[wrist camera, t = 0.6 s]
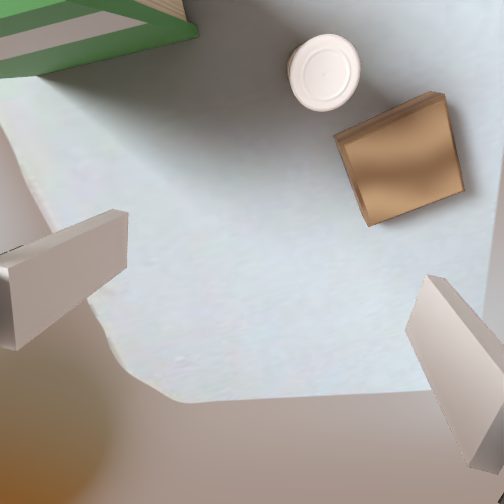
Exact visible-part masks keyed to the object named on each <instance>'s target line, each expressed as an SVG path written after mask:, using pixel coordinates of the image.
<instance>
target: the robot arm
mask: <svg viewBox="0 0 504 504" xmlns="http://www.w3.org/2000/svg"><path fill="white" fill-rule="evenodd" d="M127 241H128V212H124V211H119V210H114V209H112V210H109V211H107V212H104V213H102V214H99V215H97V216H95V217H92V218H90V219H87V220H85V221H82V222H80V223H78V224H75V225H73V226H70V227H68V228H65V229H63V230H60V231H58V232H56V233H53V234H51V235H48V236H46V237H44V238H41V239H39V240H36V241H34V242H31V243H29V244H26V245H22V246H19V247H17V248H15V249H12V250H10V251H9V252H5V253H2V254H0V347H3V348H6V349H10V350H14V351H18V350H19V349H20V348H21V347H23V346H24V345H25V344H27V343H28V342H29V341H31V340H32V339H33V338H35V337H36V336H37V335H38V334H40V333H41V332H42V331H44V330H45V329H46V328H47V327H49V326H50V325H52V324H53V323H54V322H56V321H57V320H58V319H60V318H61V317H62V316H64V315H65V314H66V313H68V312H69V311H70V310H72V309H73V308H74V307H75V306H77V305H78V304H79V303H80V302H82V301H83V300H85V299H86V298H87V297H89V296H90V295H91V294H93V293H94V292H95V291H97V290H98V289H99V288H101V287H102V286H103V285H105V284H106V283H107V282H108V281H110V280H111V279H112V278H114V277H115V276H116V275H118V274H119V273H120V272H122V271H123V270H124V269H126V268H127ZM405 332H406V334H407V336H408V338H409V340H410V343H411V345H412V347H413V349H414V351H415V354H416V356H417V358H418V360H419V362H420V364H421V367H422V369H423V371H424V373H425V375H426V377H427V380H428V382H429V384H430V386H431V388H432V390H433V393H434V395H435V397H436V399H437V401H438V403H439V405H440V408H441V410H442V412H443V414H444V416H445V419H446V421H447V423H448V425H449V427H450V430H451V432H452V434H453V436H454V438H455V440H456V443H457V444H458V447H459V449H460V451H461V453H462V456H463V457H464V460H465V462H466V464H467V466H468V467H470V468H474V469H478V470H482V471H486V472H490V473H493V474H498V473H499V471H500V470H501V469H502V467H503V465H504V345H503V343H501V341H500V340H499V339H498V338H497V337H496V336H495V334H494V333H493V332H492V331H491V330H490V329H489V328H488V327H487V325H486V324H485V323H484V322H483V321H482V320H481V319H480V317H479V316H478V315H477V314H476V313H475V312H474V311H473V310H472V308H471V307H470V306H469V305H468V304H467V303H466V302H465V301H464V299H463V298H462V297H461V296H460V295H459V294H458V293H457V291H456V290H455V289H454V288H453V287H452V286H451V285H450V284H449V282H448V281H447V280H446V279H445V278H441V277H436V276H431V275H426V276H425V278H424V281H423V284H422V286H421V289H420V291H419V294H418V297H417V299H416V302H415V305H414V307H413V310H412V312H411V315H410V318H409V320H408V323H407V326H406V328H405ZM498 503H500V504H504V493H503V495H502V496H501V498H500V499H499V501H498Z"/></svg>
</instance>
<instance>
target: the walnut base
mask: <svg viewBox="0 0 504 504" xmlns="http://www.w3.org/2000/svg"><path fill="white" fill-rule="evenodd" d="M334 139H335V142H336V144H337V147H338V150H339V153H340V155H341V158H342V161H343V164H344V167H345V169H346V172H347V175H348V178H349V180H350V183H351V186H352V189H353V191H354V194H355V197H356V200H357V202H358V205H359V208H360V211H361V213H362V216H363V218H364V219H365V221H366V223H367V225H368V227H370V226H373V225H375V224H378V223H381V222H383V221H386V220H388V219H391V218H394V217H396V216H399V215H402V214H404V213H407V212H410V211H412V210H415V209H418V208H420V207H423V206H425V205H428V204H431V203H433V202H436V201H439V200H441V199H444V198H447V197H449V196H452V195H454V194H457V193H460V192H462V191H465V189H464V184H463V179H462V174H461V169H460V165H459V160H458V155H457V150H456V145H455V140H454V136H453V131H452V126H451V121H450V116H449V112H448V107H447V102H446V97H445V94H442V93H437V92H432V91H429V92H427V93H425V94H423V95H421V96H419V97H416V98H414V99H412V100H410V101H408V102H406V103H403V104H401V105H399V106H397V107H395V108H393V109H390V110H388V111H386V112H384V113H382V114H380V115H377V116H375V117H373V118H371V119H369V120H367V121H364V122H362V123H360V124H358V125H356V126H354V127H352V128H349V129H347V130H345V131H343V132H341V133H339V134H336V135H334Z"/></svg>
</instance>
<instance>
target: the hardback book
mask: <svg viewBox="0 0 504 504" xmlns="http://www.w3.org/2000/svg"><path fill="white" fill-rule="evenodd" d="M197 37H199V34H198V29H197V26H196V25H194V24H191V23H189V22H187V19H186V15H185V11H184V7H183V2H182V0H0V79H1V78H14V77H28V76H38V75H42V74H47V73H51V72H55V71H59V70H63V69H67V68H72V67H76V66H80V65H84V64H88V63H92V62H97V61H101V60H105V59H109V58H113V57H117V56H122V55H126V54H130V53H134V52H138V51H142V50H147V49H151V48H155V47H159V46H163V45H167V44H172V43H176V42H180V41H184V40H188V39H193V38H197Z"/></svg>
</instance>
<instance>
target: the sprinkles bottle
mask: <svg viewBox="0 0 504 504" xmlns="http://www.w3.org/2000/svg"><path fill="white" fill-rule="evenodd" d="M360 73H361V65H360V59H359V56H358V53H357V51H356V49H355V48H354V46H353V45H352V44H351V43H350V42H349V41H348V40H347V39H345V38H343V37H341V36H339V35H335V34H323V35H319V36H316V37H313V38H311V39H310V40H308V41H307V42H306V43H303V44H301V45H299V46H298V47H297V48H296V49H295V50H294V51H293V52H292V54H291V55H290V57H289V60H288V63H287V77H288V80H289V82H290V85H291V88H292V91H293V93H294V95H295V97H296V98H297V100H298V101H299V102H300V103H301V104H302V105H303V106H305V107H306V108H308V109H311V110H314V111H319V112H325V111H331V110H334V109H336V108H338V107H340V106H342V105H343V104H344V103H345V102H347V101H348V100H349V98H350V97H351V96H352V95H353V93H354V92H355V90H356V88H357V85H358V83H359V79H360Z"/></svg>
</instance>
